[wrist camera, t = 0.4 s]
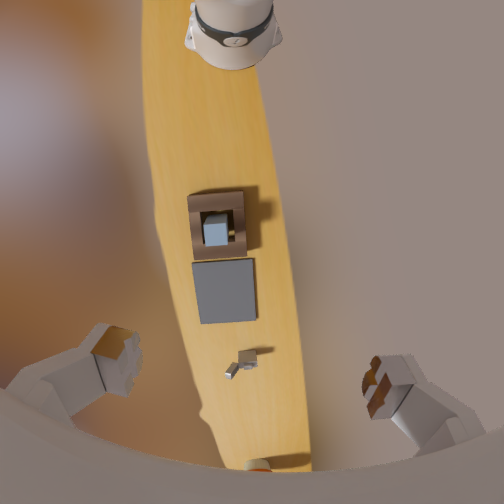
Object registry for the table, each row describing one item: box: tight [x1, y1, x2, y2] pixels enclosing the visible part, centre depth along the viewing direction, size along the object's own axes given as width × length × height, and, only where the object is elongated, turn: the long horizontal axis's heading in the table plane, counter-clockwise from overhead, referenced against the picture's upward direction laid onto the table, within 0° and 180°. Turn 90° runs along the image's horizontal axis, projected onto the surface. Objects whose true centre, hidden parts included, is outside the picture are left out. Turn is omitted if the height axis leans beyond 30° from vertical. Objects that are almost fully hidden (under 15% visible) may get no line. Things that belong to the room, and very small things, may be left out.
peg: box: [204, 214, 229, 246], centre depth 49 cm, size 4×4×9 cm
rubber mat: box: [192, 258, 256, 324], centre depth 58 cm, size 14×12×1 cm
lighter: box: [225, 350, 258, 380], centre depth 59 cm, size 7×2×8 cm, turn 94°
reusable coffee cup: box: [244, 459, 272, 472], centre depth 73 cm, size 12×13×15 cm
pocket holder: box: [187, 190, 247, 260], centre depth 52 cm, size 12×10×3 cm
